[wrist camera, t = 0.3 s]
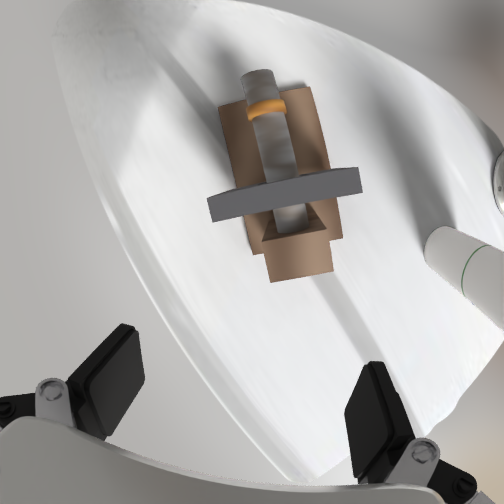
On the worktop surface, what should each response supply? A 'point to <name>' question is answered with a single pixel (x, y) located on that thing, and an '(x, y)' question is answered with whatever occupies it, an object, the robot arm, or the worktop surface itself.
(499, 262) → the cylindrical container
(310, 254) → the pipe mount
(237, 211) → the dark grey square plate
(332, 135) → the worktop surface
